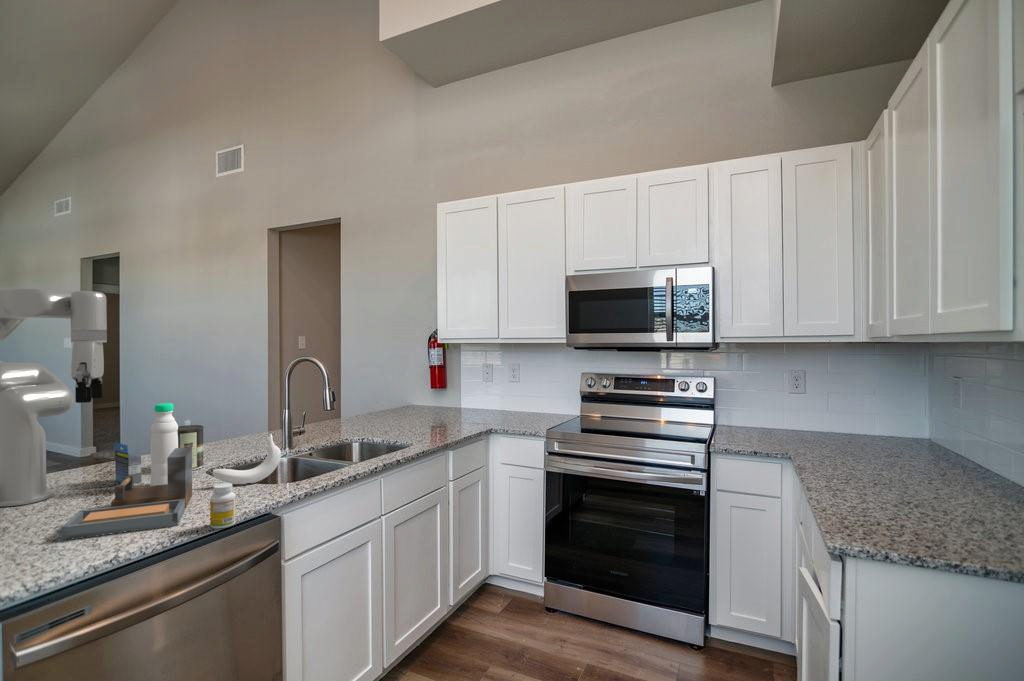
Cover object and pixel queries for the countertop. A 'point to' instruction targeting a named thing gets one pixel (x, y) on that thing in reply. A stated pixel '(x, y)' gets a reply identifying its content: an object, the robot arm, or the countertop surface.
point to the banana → (255, 473)
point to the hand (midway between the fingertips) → (89, 400)
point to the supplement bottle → (222, 506)
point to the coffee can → (192, 442)
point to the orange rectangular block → (126, 513)
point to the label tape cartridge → (127, 464)
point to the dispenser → (174, 490)
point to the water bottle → (162, 442)
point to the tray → (123, 520)
